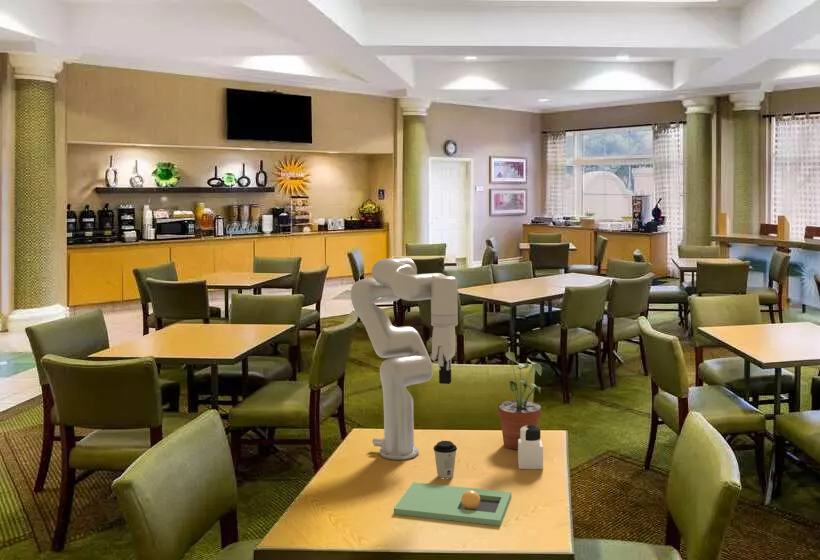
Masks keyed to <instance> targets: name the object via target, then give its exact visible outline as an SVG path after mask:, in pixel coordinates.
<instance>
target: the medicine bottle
mask: <svg viewBox="0 0 820 560" xmlns="http://www.w3.org/2000/svg"><path fill="white" fill-rule="evenodd" d="M517 462H518V468H519V469H520V470H543V469H544V445H543V442H542V439H541V429H540V427H538V426H537V427H536V426H532V425H527V426H524V427H522V428H521V429H520V439H518V449H517Z"/></svg>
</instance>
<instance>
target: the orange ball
mask: <svg viewBox="0 0 820 560" xmlns="http://www.w3.org/2000/svg"><path fill="white" fill-rule="evenodd" d="M461 502H462V505H463V506H464V507H465V508H466V509H468V510H474V509H476V508H477V507H478V506H479V504H480V496H479V495H478V493H477V492H475V491H473V490H468V491H466V492H465V493H464V494H463V495H462V498H461Z"/></svg>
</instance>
